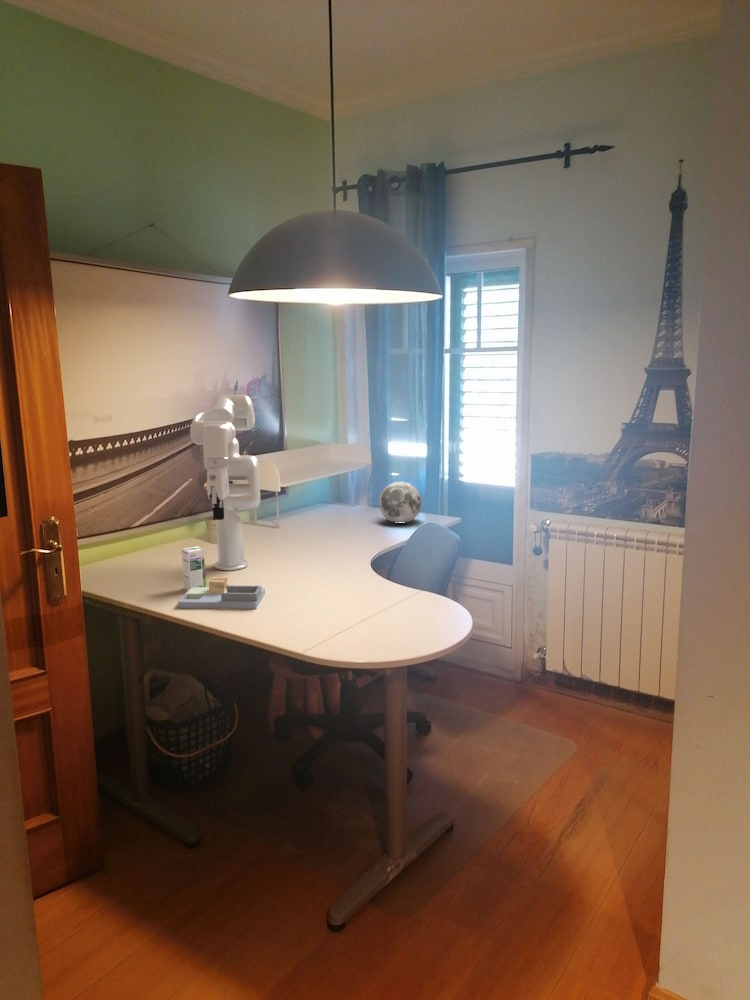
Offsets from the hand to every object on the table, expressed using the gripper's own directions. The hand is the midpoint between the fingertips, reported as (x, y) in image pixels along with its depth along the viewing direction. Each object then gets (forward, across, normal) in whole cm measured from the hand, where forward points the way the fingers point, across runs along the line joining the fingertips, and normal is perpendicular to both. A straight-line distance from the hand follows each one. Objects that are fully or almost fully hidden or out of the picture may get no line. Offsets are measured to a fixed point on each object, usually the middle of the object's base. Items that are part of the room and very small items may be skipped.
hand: (218, 519), depth 237 cm
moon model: (+27, +112, -58) cm, 129 cm away
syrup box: (+27, +10, +12) cm, 31 cm away
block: (+25, +2, +2) cm, 25 cm away
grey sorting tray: (+27, -2, 0) cm, 27 cm away
